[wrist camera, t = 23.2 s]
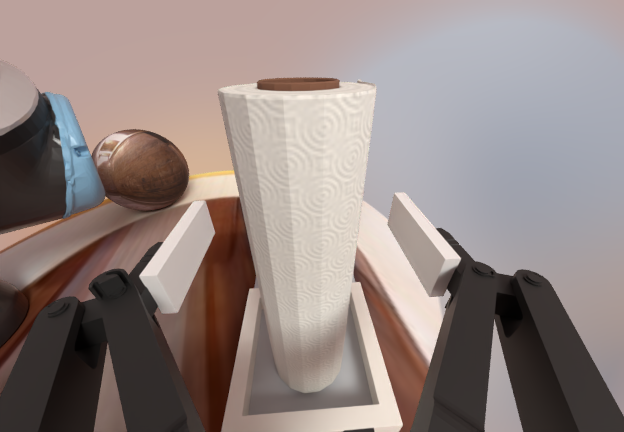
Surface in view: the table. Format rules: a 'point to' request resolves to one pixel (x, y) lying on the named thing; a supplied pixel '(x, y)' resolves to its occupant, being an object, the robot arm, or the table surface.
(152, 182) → the wooden sphere
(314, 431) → the board
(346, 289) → the paper towel roll
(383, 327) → the table surface
